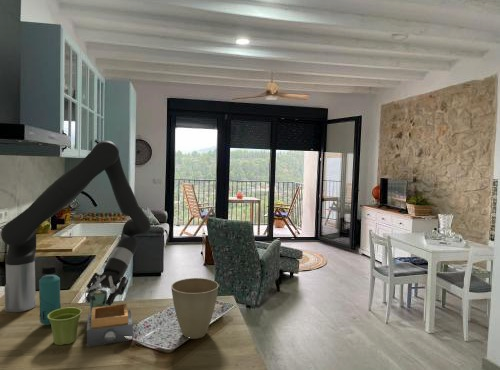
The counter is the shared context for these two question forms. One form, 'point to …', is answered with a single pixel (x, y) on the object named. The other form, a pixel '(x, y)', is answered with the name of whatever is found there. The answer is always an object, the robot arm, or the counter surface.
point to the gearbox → (109, 325)
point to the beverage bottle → (49, 293)
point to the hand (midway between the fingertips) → (97, 302)
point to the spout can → (97, 299)
